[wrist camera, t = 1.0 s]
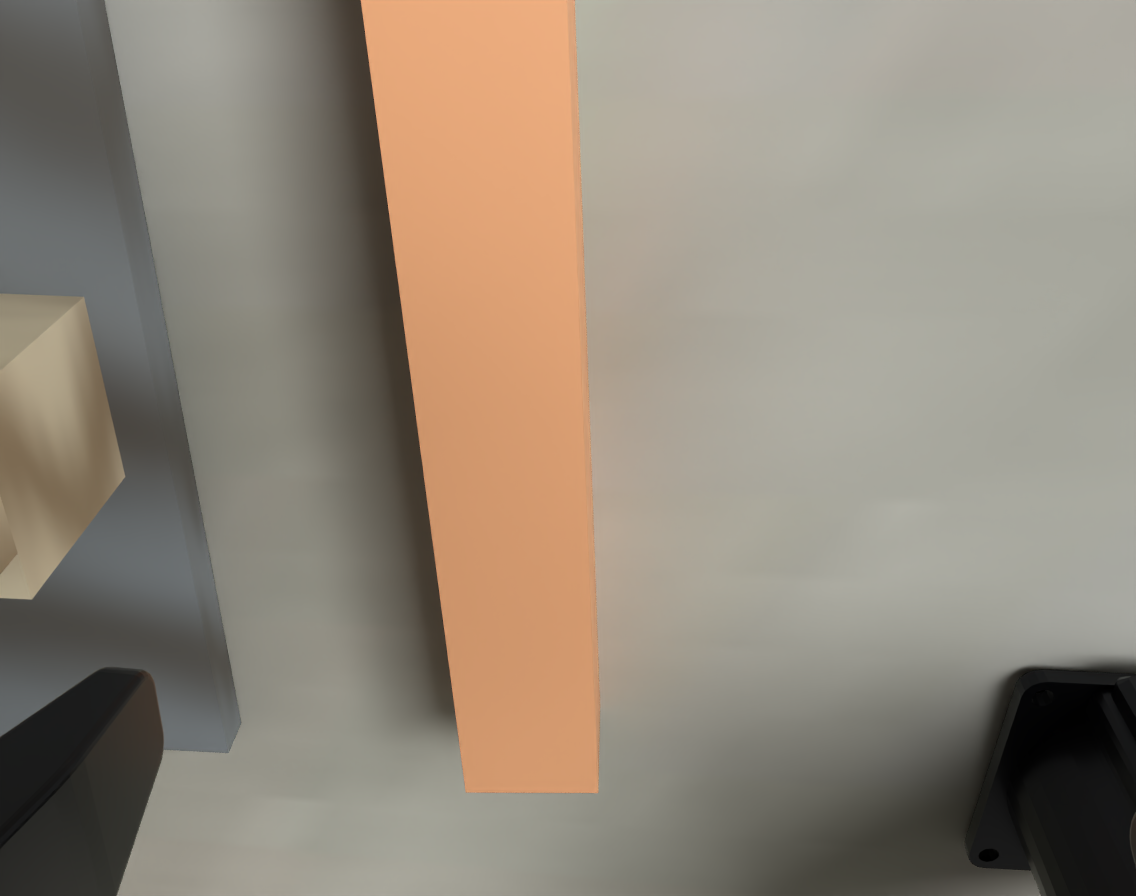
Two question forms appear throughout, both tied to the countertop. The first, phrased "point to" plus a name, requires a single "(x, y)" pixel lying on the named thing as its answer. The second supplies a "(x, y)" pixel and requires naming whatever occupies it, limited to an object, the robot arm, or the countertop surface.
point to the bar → (498, 367)
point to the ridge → (91, 402)
